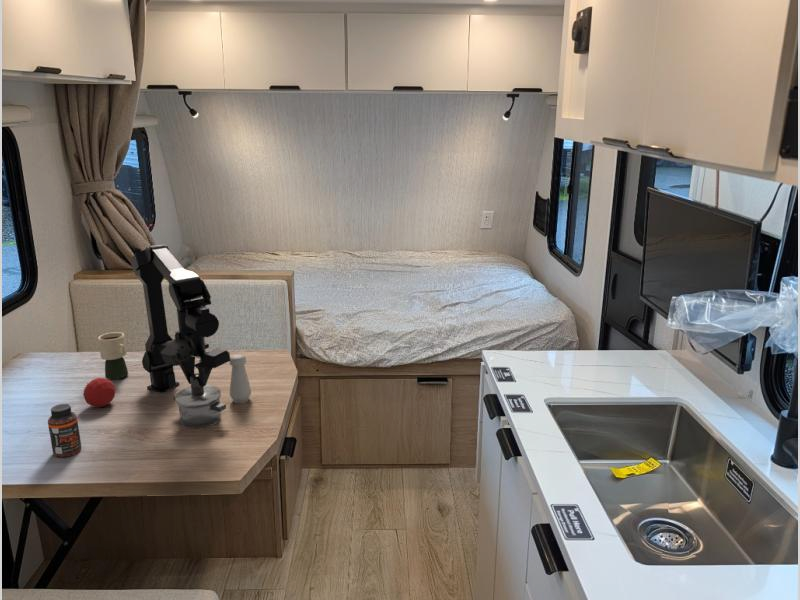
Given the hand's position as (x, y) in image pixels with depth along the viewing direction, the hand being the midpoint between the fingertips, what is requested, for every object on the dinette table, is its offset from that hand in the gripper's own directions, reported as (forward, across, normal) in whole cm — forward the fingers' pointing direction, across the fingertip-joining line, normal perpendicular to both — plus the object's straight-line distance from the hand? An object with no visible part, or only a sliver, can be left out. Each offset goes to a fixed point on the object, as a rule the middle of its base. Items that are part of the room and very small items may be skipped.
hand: (197, 384), depth 157 cm
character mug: (+10, -42, +9) cm, 44 cm away
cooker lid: (+4, 0, 0) cm, 4 cm away
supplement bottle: (+10, -16, -26) cm, 32 cm away
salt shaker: (+10, +2, +13) cm, 16 cm away
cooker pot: (+10, 0, 0) cm, 10 cm away
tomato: (+10, -30, -6) cm, 32 cm away
